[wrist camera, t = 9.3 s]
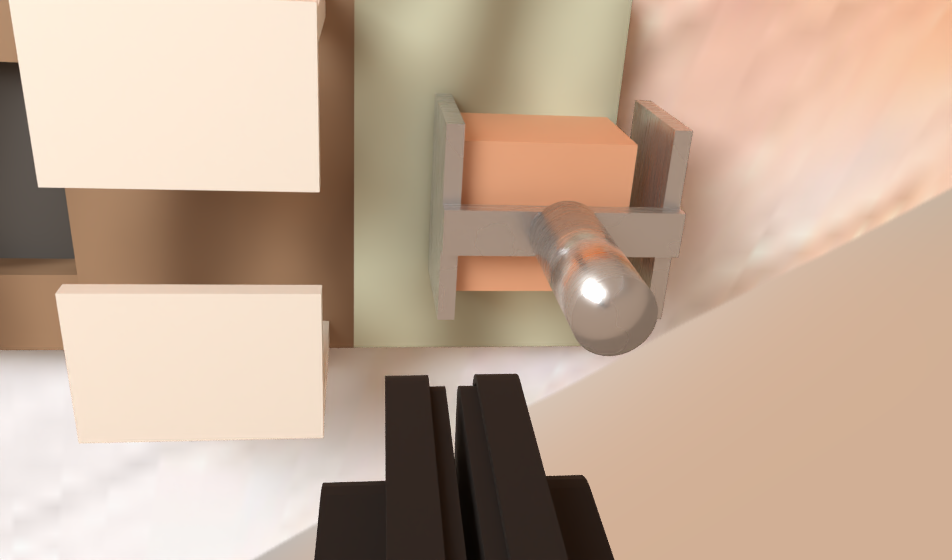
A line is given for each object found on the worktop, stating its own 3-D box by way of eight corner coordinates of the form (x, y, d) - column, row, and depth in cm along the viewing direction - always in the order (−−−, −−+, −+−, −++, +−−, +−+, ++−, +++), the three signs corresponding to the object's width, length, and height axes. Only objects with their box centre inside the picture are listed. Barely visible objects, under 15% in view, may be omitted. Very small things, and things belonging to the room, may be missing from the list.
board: (617, -12, 32) (633, -6, 31) (576, 324, 38) (587, 346, 37) (-249, -58, 28) (-290, -54, 26) (-145, 327, 34) (-173, 351, 32)
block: (606, 117, 32) (637, 145, 29) (590, 249, 35) (616, 291, 31) (451, 112, 32) (463, 140, 28) (444, 248, 34) (455, 290, 30)
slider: (650, 100, 32) (784, 196, 22) (625, 269, 35) (734, 423, 25) (435, 93, 31) (471, 190, 21) (428, 268, 34) (457, 428, 24)
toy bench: (325, -20, 29) (316, 2, 23) (329, 346, 35) (323, 437, 29) (80, -33, 28) (6, -13, 22) (127, 348, 34) (78, 443, 28)
